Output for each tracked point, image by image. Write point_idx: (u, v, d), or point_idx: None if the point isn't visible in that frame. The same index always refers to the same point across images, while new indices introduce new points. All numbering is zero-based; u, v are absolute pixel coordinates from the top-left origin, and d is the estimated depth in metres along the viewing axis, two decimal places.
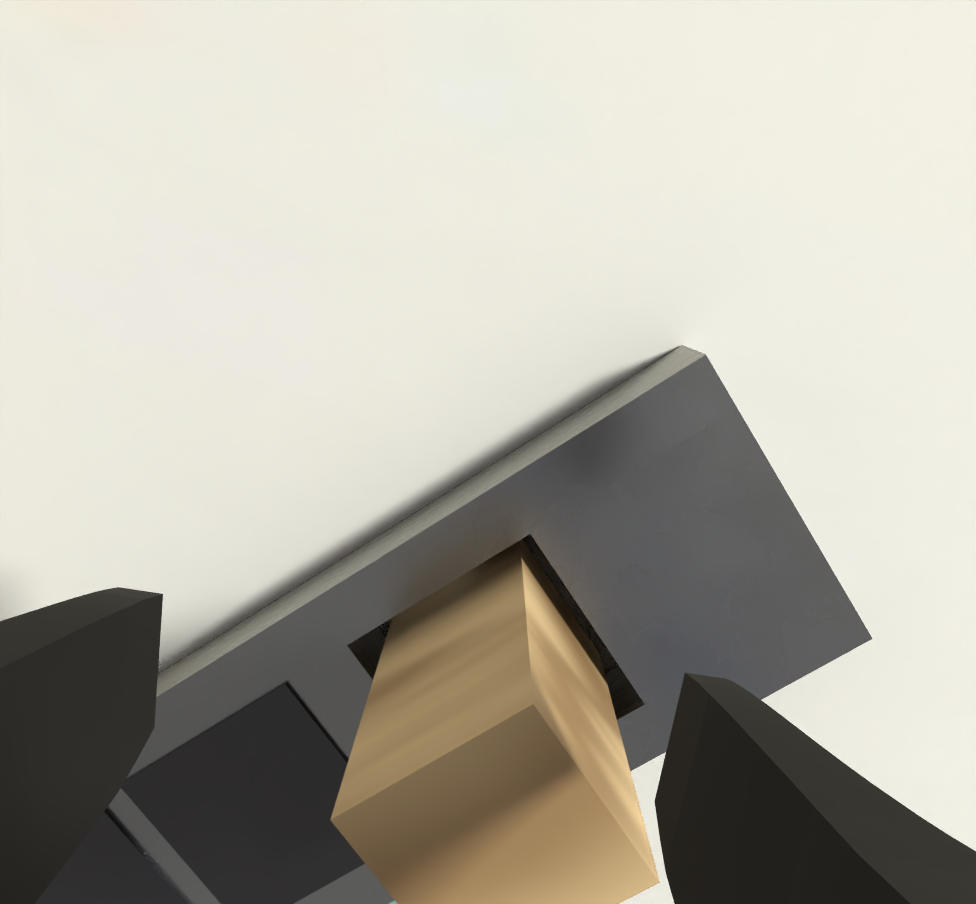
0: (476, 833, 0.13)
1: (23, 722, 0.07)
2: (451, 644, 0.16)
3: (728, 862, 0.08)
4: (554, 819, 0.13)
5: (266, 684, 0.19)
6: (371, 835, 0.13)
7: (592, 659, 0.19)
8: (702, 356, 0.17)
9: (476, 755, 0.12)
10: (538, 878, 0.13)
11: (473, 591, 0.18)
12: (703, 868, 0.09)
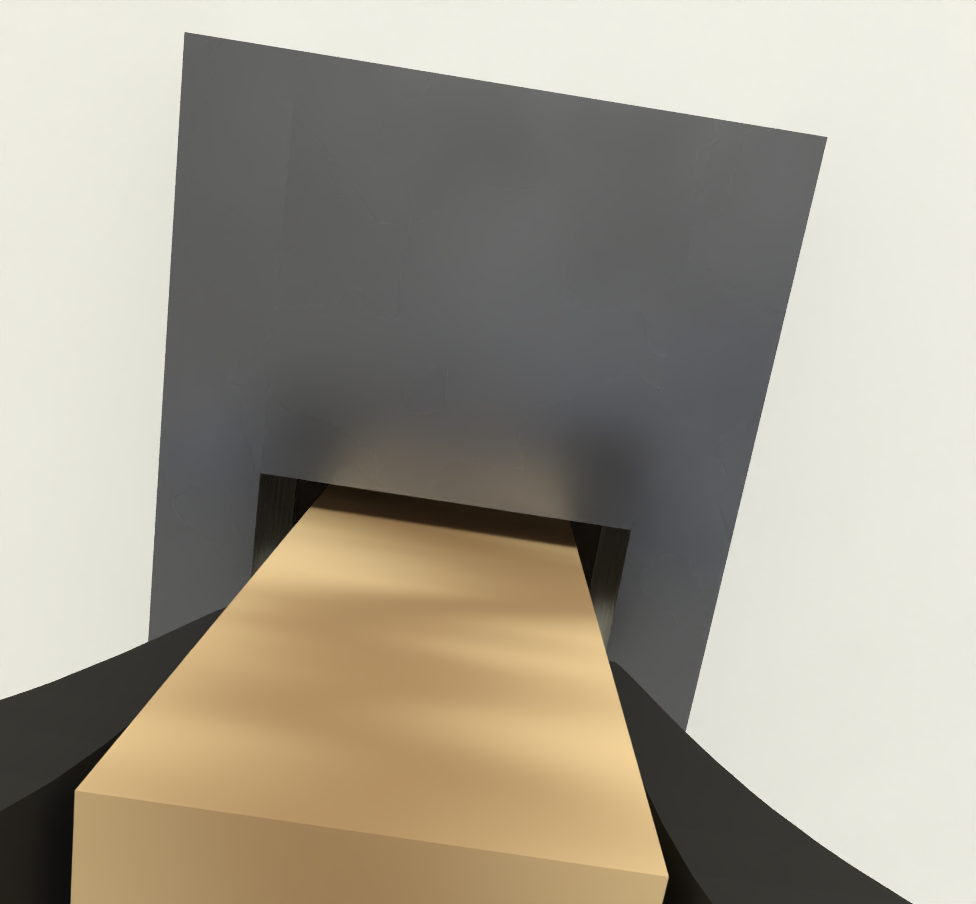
0: None
1: None
2: None
3: None
4: None
5: None
6: None
7: (533, 536, 0.12)
8: (184, 39, 0.09)
9: None
10: None
11: None
12: None
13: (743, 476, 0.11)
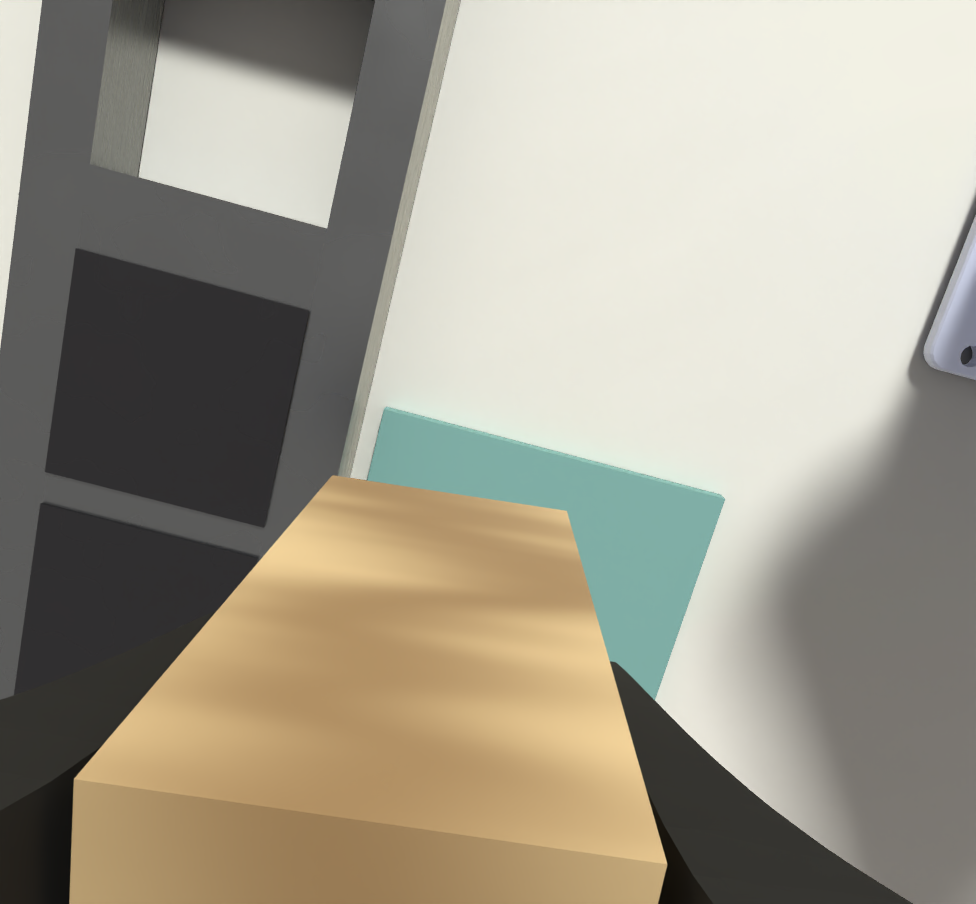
0: None
1: None
2: None
3: None
4: None
5: (65, 265, 0.17)
6: None
7: (532, 531, 0.12)
8: None
9: None
10: None
11: None
12: None
13: None
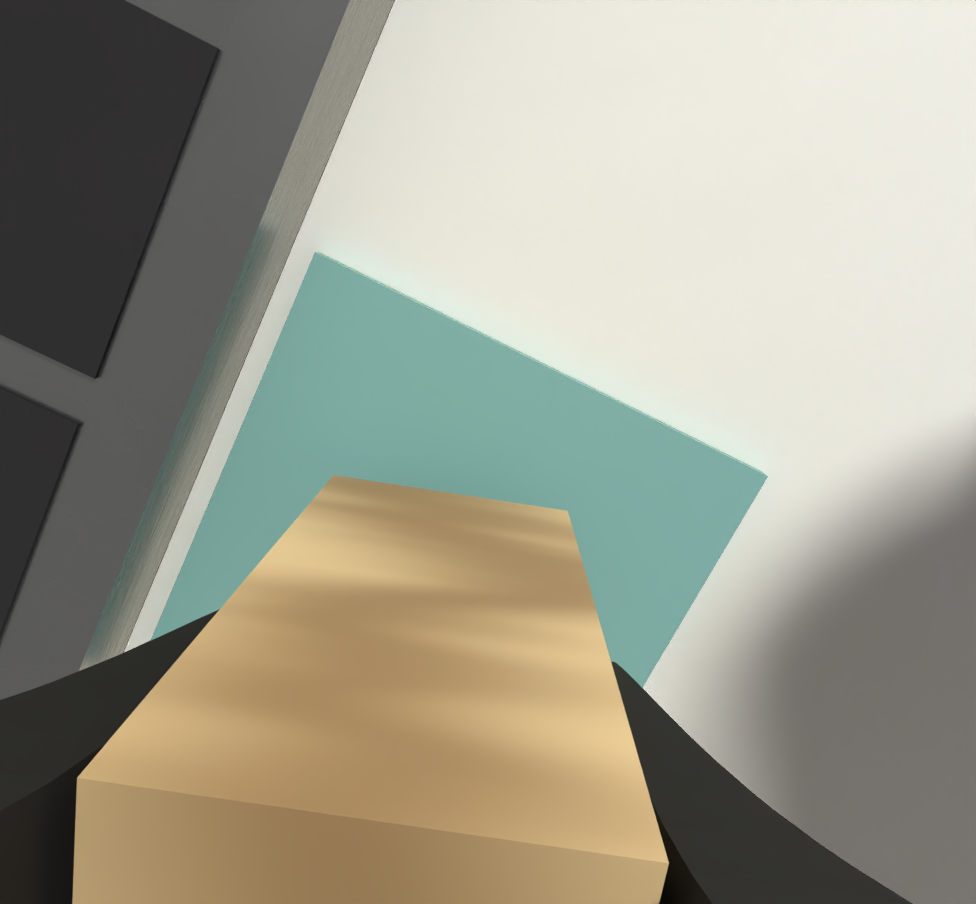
0: None
1: None
2: None
3: None
4: None
5: None
6: None
7: (533, 531, 0.12)
8: None
9: None
10: None
11: None
12: None
13: None
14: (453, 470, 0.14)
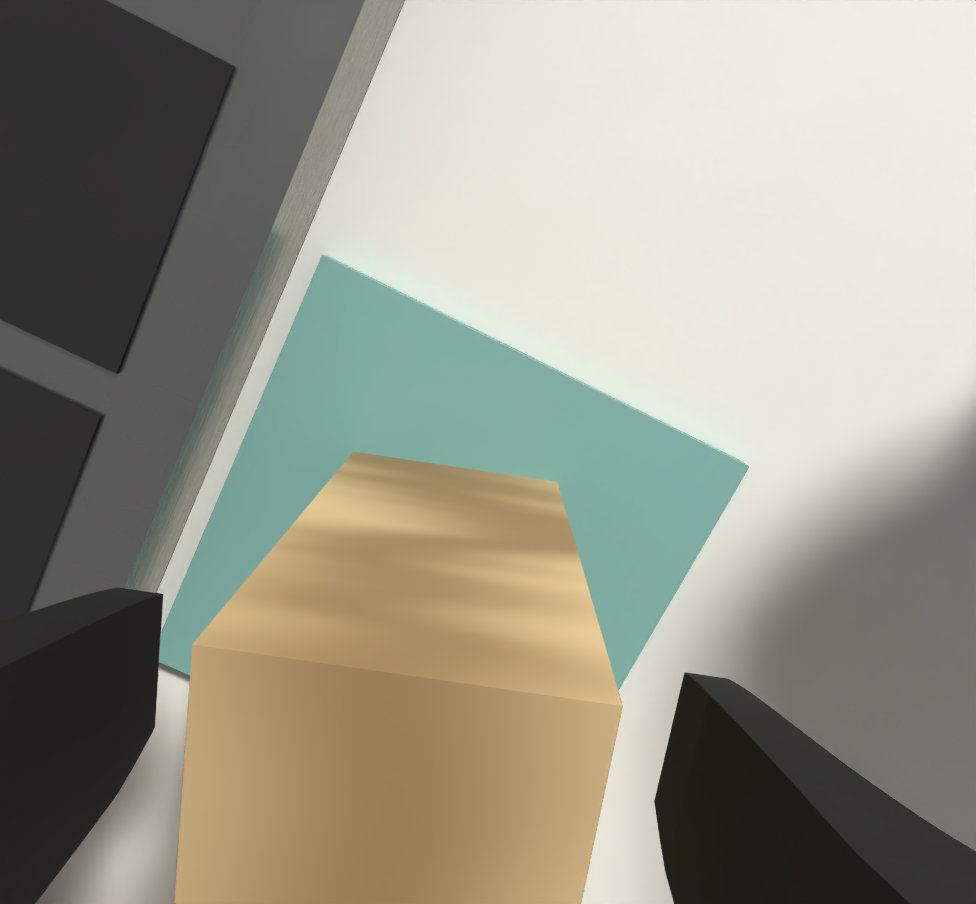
0: (334, 859, 0.07)
1: (23, 722, 0.07)
2: None
3: (728, 862, 0.08)
4: (396, 754, 0.07)
5: None
6: None
7: (527, 496, 0.14)
8: None
9: (213, 770, 0.07)
10: (471, 843, 0.07)
11: None
12: (703, 868, 0.09)
13: None
14: (452, 461, 0.15)
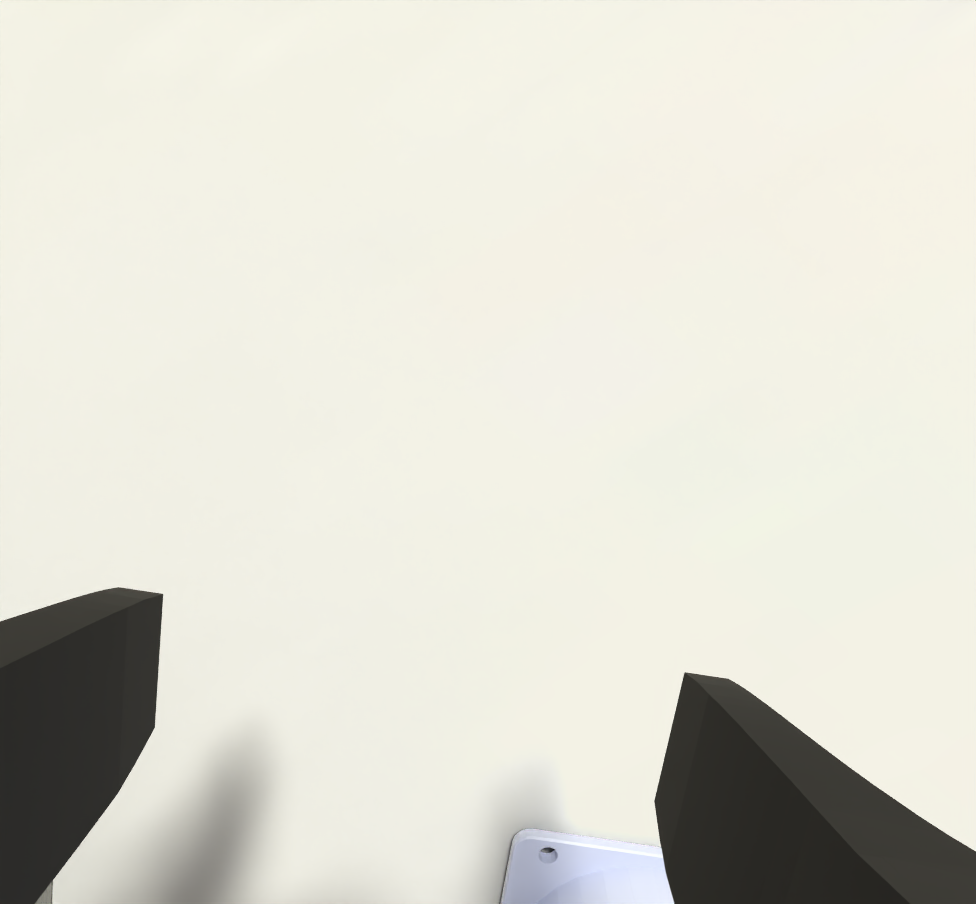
0: None
1: (23, 722, 0.07)
2: None
3: (728, 862, 0.08)
4: None
5: None
6: None
7: None
8: None
9: None
10: None
11: None
12: (703, 868, 0.09)
13: None
14: None
